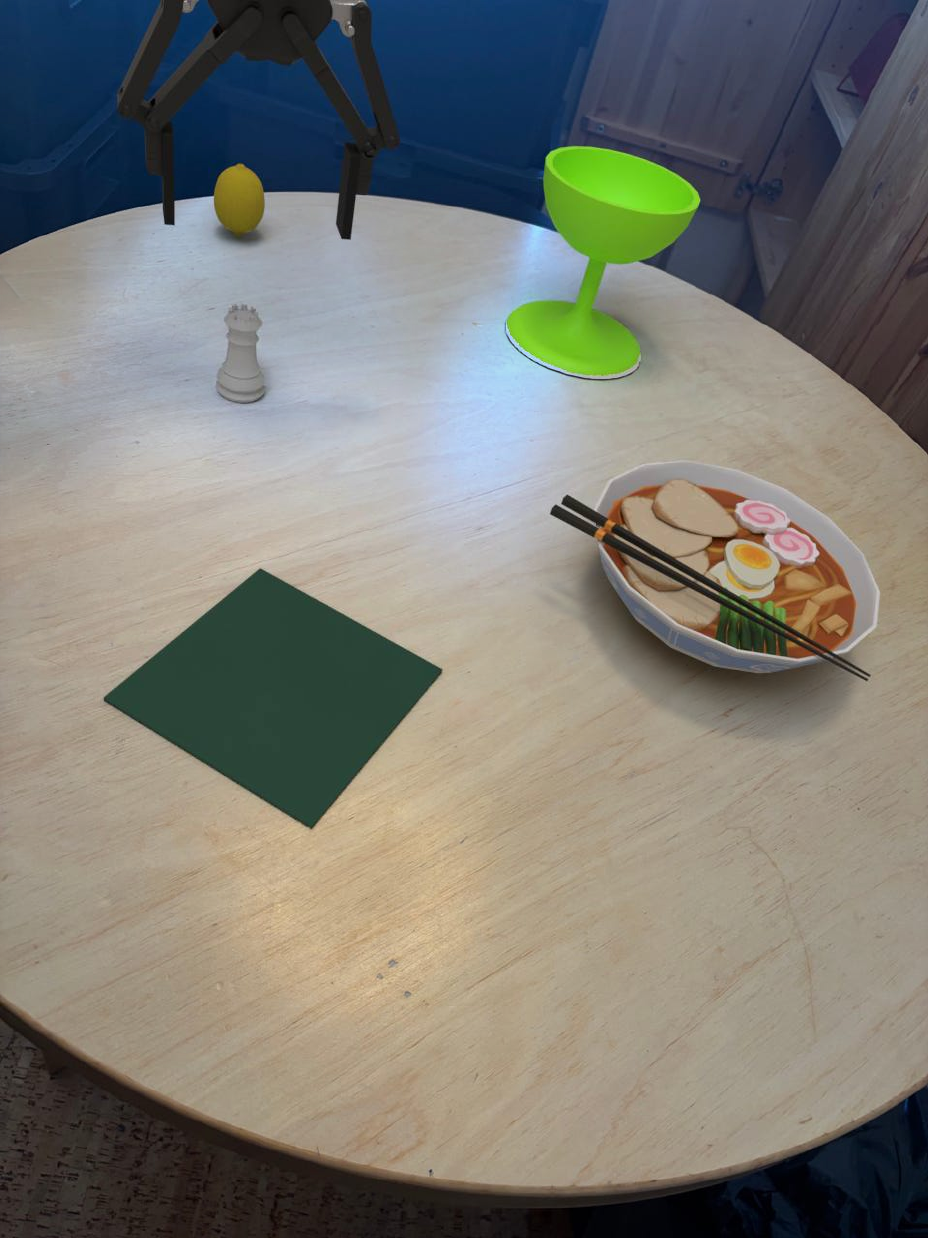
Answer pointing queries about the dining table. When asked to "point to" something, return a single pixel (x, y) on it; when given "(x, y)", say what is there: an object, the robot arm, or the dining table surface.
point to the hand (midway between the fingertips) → (258, 225)
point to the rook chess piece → (241, 357)
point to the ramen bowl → (730, 566)
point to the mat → (277, 694)
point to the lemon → (239, 199)
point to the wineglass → (601, 250)
